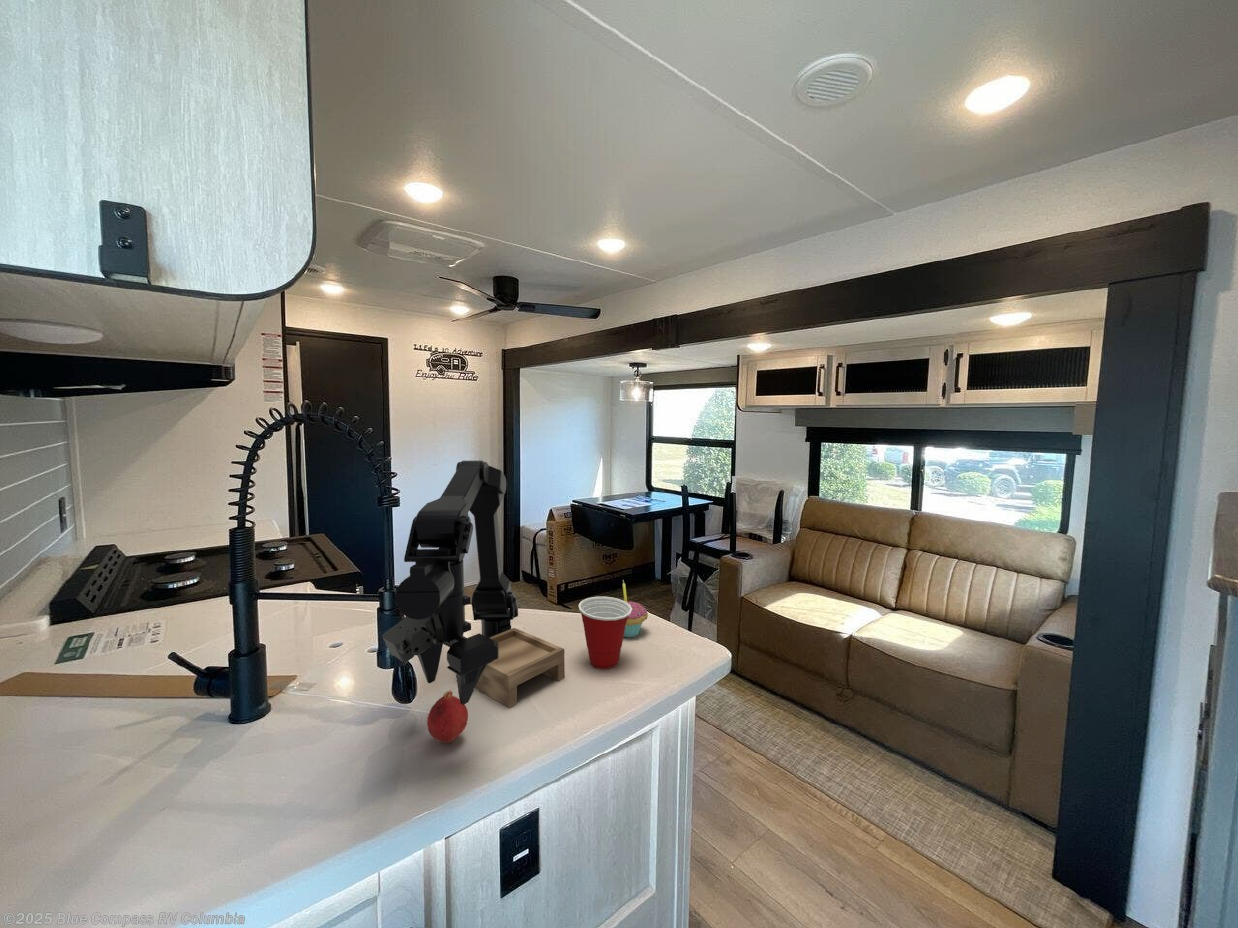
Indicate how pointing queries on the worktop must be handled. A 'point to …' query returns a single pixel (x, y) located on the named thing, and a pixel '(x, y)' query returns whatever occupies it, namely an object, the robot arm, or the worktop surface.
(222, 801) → the worktop surface
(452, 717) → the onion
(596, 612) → the plastic cup
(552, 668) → the shelf
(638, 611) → the cupcake
